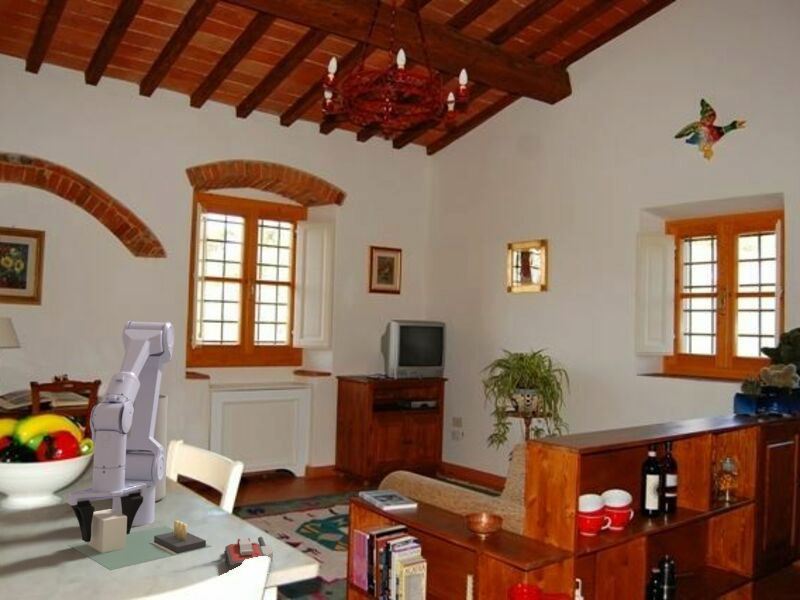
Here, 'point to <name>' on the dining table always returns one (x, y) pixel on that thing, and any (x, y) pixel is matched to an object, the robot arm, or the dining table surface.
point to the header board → (146, 546)
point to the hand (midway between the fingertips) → (106, 536)
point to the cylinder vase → (159, 440)
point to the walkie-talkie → (245, 552)
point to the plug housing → (108, 531)
